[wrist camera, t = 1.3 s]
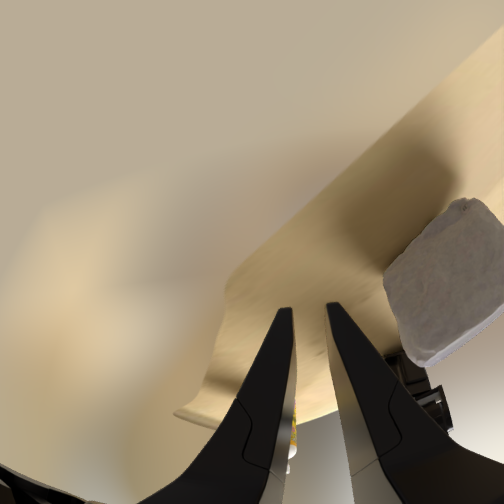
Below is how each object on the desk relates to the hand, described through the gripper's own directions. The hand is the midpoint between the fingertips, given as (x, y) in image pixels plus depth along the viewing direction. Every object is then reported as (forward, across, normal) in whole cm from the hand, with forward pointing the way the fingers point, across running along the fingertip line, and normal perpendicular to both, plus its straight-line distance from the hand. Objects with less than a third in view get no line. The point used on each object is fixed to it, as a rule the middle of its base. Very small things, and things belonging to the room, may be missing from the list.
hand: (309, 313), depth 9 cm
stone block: (+12, -12, +7) cm, 19 cm away
